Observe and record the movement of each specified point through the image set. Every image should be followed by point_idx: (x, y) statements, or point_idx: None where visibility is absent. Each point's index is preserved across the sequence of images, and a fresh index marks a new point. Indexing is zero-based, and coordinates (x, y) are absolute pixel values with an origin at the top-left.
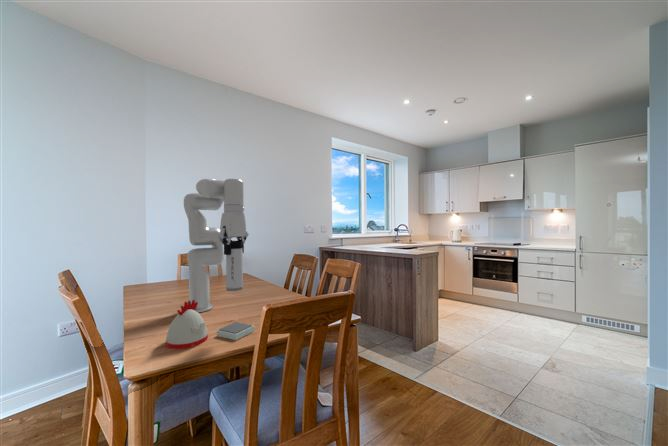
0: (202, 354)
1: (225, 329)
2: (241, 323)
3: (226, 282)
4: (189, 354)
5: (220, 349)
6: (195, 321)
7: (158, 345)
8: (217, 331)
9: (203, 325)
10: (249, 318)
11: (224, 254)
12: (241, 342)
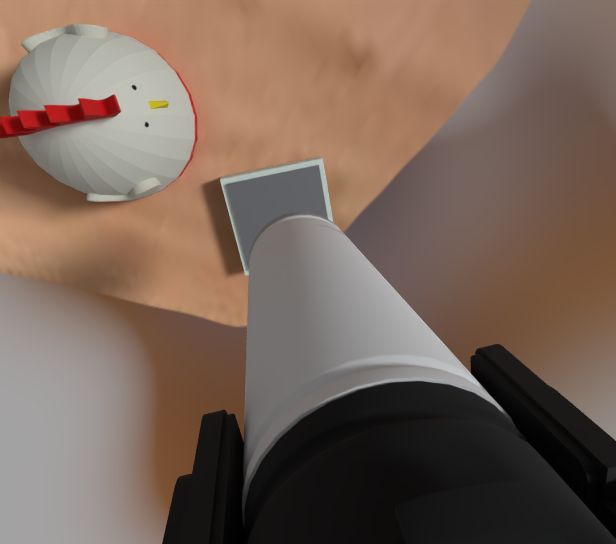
0: (116, 277)
1: (243, 208)
2: (322, 202)
3: (251, 261)
4: (84, 245)
5: (174, 289)
6: (103, 186)
7: (11, 63)
8: (221, 183)
9: (147, 191)
10: (425, 109)
11: (207, 418)
12: (247, 295)
